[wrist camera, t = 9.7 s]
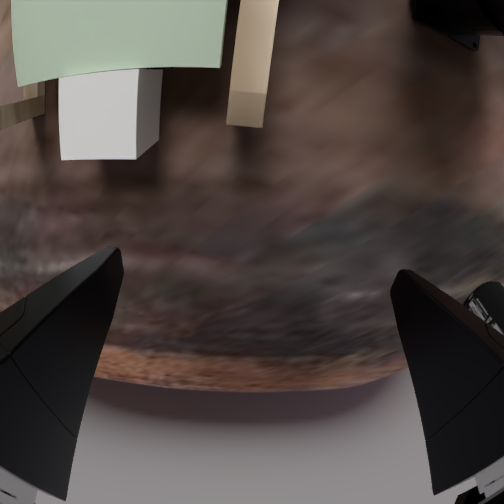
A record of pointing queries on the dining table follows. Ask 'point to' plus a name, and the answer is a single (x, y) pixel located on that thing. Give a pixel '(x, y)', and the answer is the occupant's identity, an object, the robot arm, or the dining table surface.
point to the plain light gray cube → (109, 114)
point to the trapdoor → (114, 36)
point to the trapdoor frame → (242, 77)
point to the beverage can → (489, 304)
